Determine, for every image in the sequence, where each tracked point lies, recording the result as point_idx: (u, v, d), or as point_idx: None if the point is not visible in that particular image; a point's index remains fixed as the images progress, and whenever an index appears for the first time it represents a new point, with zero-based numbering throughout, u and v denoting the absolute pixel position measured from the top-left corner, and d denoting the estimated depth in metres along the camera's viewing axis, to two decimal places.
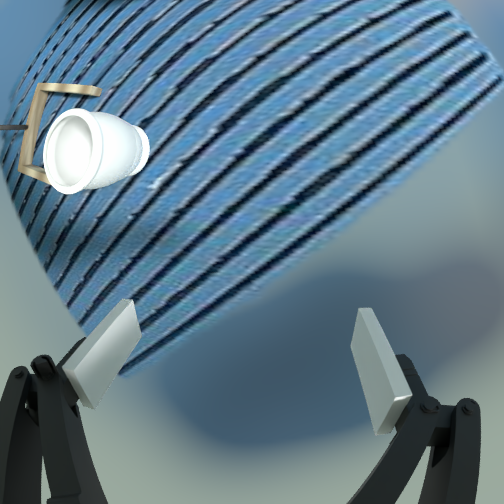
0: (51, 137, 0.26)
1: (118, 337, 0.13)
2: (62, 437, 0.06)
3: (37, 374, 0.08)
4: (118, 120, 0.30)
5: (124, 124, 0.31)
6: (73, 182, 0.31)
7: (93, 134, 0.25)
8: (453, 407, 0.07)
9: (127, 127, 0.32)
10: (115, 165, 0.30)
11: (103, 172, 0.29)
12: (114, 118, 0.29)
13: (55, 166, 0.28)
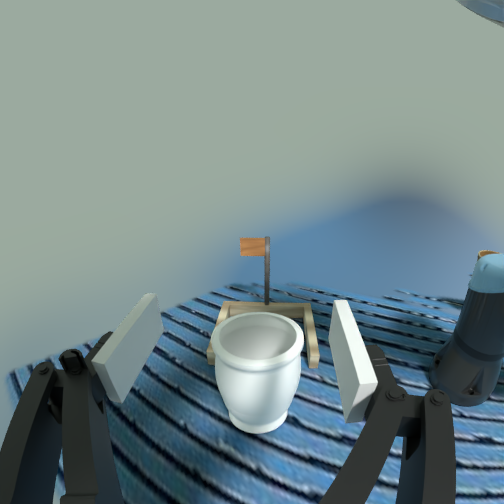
0: (267, 318, 0.35)
1: (144, 331, 0.14)
2: (85, 434, 0.06)
3: (65, 368, 0.09)
4: (295, 386, 0.30)
5: (291, 394, 0.30)
6: None
7: (281, 356, 0.27)
8: (421, 399, 0.08)
9: (289, 398, 0.30)
10: (246, 392, 0.27)
11: (237, 379, 0.27)
12: (297, 380, 0.30)
13: (237, 327, 0.35)
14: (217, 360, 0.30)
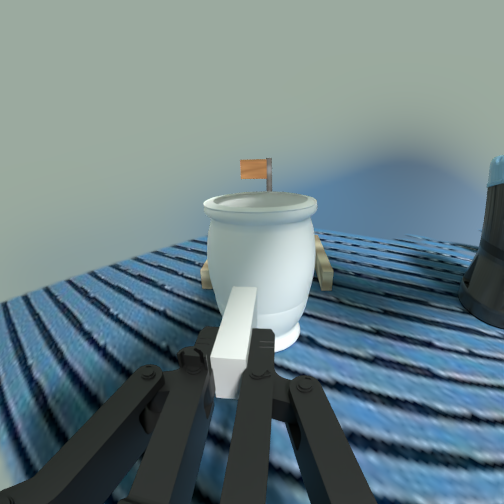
0: (271, 198, 0.30)
1: None
2: (179, 444, 0.07)
3: (181, 364, 0.10)
4: (311, 269, 0.25)
5: (306, 281, 0.25)
6: None
7: (291, 206, 0.22)
8: (288, 389, 0.10)
9: (303, 288, 0.25)
10: (247, 264, 0.22)
11: (235, 242, 0.22)
12: (312, 261, 0.25)
13: None
14: (210, 230, 0.25)
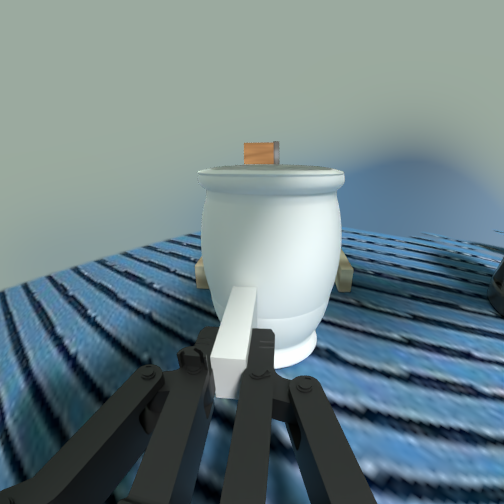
0: None
1: None
2: (179, 445, 0.07)
3: (181, 364, 0.10)
4: (336, 259, 0.19)
5: (331, 276, 0.19)
6: None
7: (314, 171, 0.16)
8: (288, 389, 0.10)
9: (327, 284, 0.18)
10: (254, 248, 0.16)
11: (237, 219, 0.16)
12: (339, 249, 0.19)
13: None
14: (205, 206, 0.19)
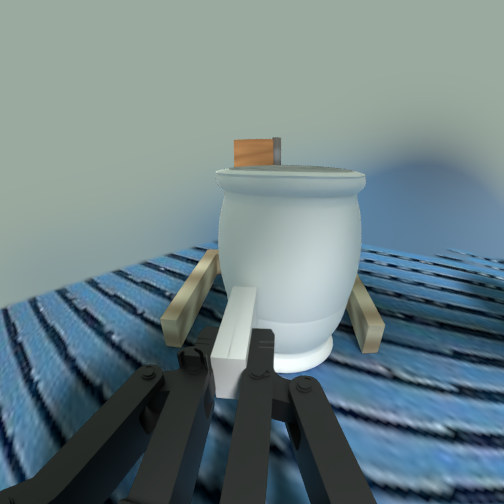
0: None
1: None
2: (179, 445, 0.07)
3: (181, 364, 0.10)
4: (351, 268, 0.17)
5: (344, 284, 0.17)
6: None
7: (325, 173, 0.15)
8: (287, 389, 0.10)
9: (338, 292, 0.17)
10: (259, 250, 0.16)
11: (245, 219, 0.16)
12: (355, 257, 0.17)
13: None
14: (222, 205, 0.19)
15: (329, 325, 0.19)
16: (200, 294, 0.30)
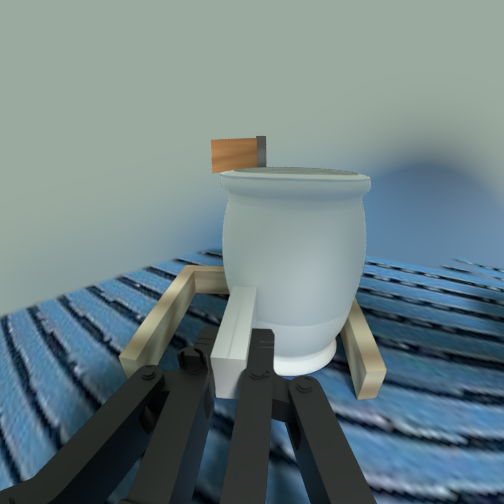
0: None
1: None
2: (179, 445, 0.07)
3: (181, 364, 0.10)
4: (353, 272, 0.17)
5: (345, 289, 0.17)
6: None
7: (326, 176, 0.15)
8: (287, 389, 0.10)
9: (339, 297, 0.17)
10: (258, 252, 0.16)
11: (246, 221, 0.16)
12: (357, 262, 0.17)
13: None
14: None
15: (330, 330, 0.18)
16: (172, 321, 0.25)
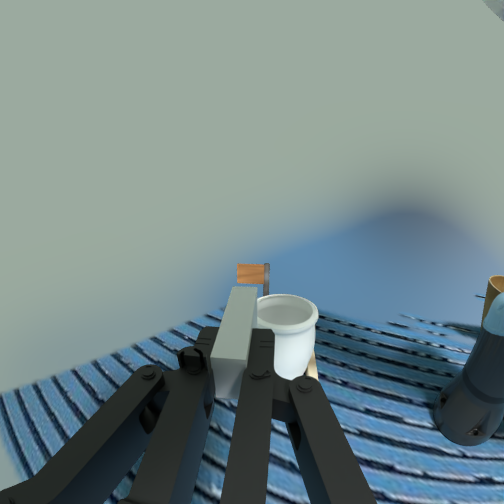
0: (297, 300, 0.45)
1: None
2: (179, 445, 0.07)
3: (181, 364, 0.10)
4: (306, 356, 0.39)
5: (302, 362, 0.39)
6: None
7: (294, 326, 0.37)
8: (288, 389, 0.10)
9: (299, 365, 0.39)
10: None
11: None
12: (308, 351, 0.39)
13: (273, 304, 0.46)
14: None
15: (296, 376, 0.41)
16: None
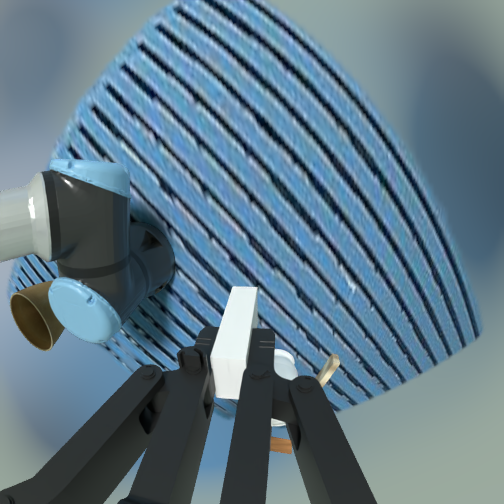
0: None
1: None
2: (179, 445, 0.07)
3: (181, 364, 0.10)
4: None
5: None
6: None
7: None
8: (288, 389, 0.10)
9: None
10: None
11: None
12: None
13: None
14: None
15: None
16: (317, 379, 0.59)
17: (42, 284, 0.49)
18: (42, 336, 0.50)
